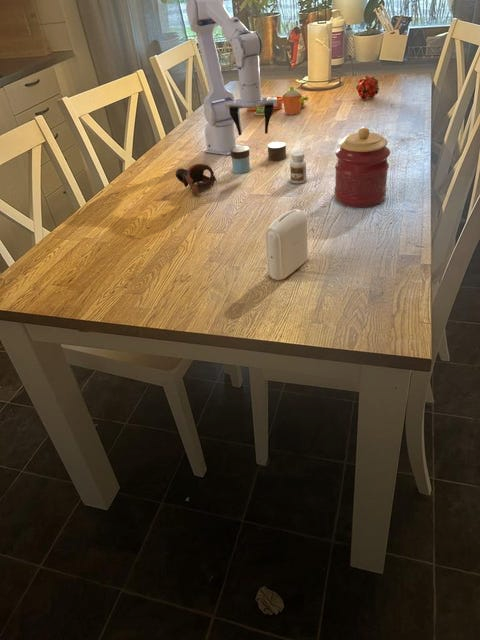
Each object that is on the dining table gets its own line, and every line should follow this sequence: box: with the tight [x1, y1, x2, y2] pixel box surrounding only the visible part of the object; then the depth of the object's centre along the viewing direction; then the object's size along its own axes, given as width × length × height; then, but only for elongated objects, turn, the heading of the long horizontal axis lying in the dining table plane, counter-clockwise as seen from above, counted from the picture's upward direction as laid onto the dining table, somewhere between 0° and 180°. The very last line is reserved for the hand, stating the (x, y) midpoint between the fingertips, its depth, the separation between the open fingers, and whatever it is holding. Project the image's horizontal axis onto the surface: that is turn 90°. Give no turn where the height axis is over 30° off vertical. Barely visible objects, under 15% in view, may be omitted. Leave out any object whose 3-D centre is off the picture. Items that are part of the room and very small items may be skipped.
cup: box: [231, 155, 251, 174], centre depth 149 cm, size 5×5×4 cm
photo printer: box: [265, 208, 309, 281], centre depth 100 cm, size 10×4×12 cm, turn 140°
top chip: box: [230, 145, 251, 159], centre depth 147 cm, size 6×6×2 cm
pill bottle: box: [289, 151, 307, 184], centre depth 138 cm, size 4×4×8 cm
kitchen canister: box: [334, 126, 391, 208], centre depth 123 cm, size 13×13×18 cm
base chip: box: [267, 151, 287, 162], centre depth 156 cm, size 6×6×2 cm
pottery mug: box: [175, 163, 217, 197], centre depth 140 cm, size 12×10×8 cm
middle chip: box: [267, 141, 287, 154], centre depth 154 cm, size 6×6×2 cm
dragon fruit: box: [355, 75, 380, 100], centre depth 199 cm, size 8×8×12 cm
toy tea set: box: [246, 85, 309, 117], centre depth 195 cm, size 26×16×10 cm, turn 81°
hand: (253, 133), depth 145 cm, fingers open, 7 cm apart
